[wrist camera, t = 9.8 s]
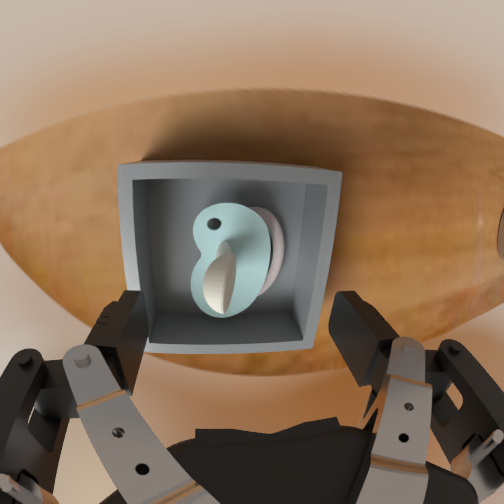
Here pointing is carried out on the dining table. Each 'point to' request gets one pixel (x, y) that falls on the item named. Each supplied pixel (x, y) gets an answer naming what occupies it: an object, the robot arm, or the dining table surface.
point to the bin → (188, 208)
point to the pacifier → (235, 257)
